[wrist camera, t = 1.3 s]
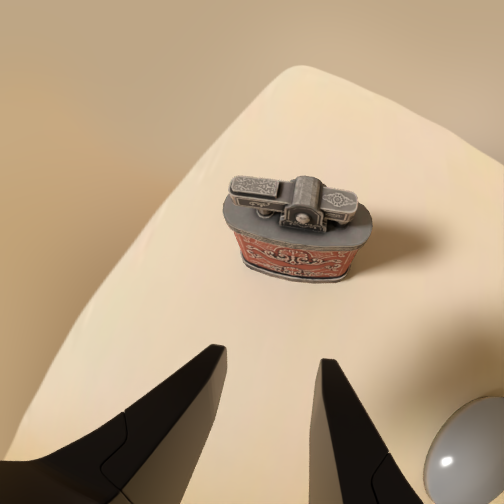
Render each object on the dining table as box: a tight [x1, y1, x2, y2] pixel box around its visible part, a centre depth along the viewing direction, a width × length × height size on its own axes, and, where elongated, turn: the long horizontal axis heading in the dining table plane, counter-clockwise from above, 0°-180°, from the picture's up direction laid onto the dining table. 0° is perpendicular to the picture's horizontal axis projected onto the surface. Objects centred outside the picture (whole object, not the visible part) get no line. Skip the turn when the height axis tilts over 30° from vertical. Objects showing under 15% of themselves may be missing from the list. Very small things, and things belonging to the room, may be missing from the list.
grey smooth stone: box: [423, 396, 504, 504], centre depth 15 cm, size 10×10×2 cm
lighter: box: [223, 176, 372, 284], centre depth 19 cm, size 8×3×10 cm, turn 78°
